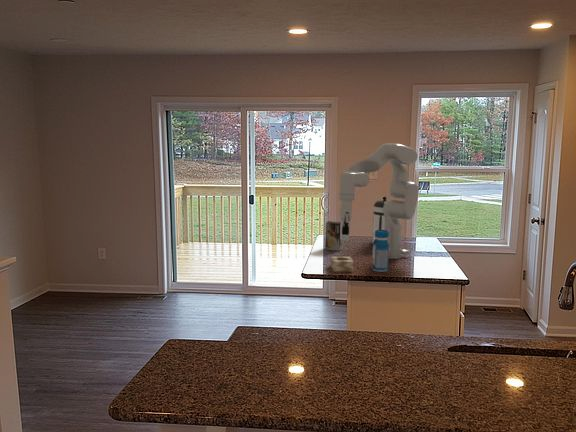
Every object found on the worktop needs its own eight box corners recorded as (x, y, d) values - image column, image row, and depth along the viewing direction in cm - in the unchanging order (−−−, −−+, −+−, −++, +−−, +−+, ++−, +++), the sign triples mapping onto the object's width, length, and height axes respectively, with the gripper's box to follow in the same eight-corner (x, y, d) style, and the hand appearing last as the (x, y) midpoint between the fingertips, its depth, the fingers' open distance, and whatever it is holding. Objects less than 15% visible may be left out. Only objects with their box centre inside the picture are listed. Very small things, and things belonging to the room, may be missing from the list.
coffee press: (398, 244, 314) (401, 196, 309) (389, 248, 301) (392, 198, 296) (372, 240, 323) (375, 194, 318) (362, 245, 310) (364, 196, 305)
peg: (340, 238, 255) (341, 215, 254) (348, 239, 255) (349, 215, 254) (341, 240, 251) (342, 216, 250) (349, 240, 251) (350, 216, 250)
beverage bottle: (380, 273, 248) (382, 233, 245) (367, 269, 255) (369, 230, 252) (392, 270, 253) (394, 231, 250) (379, 266, 260) (381, 228, 257)
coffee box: (342, 248, 299) (343, 222, 296) (339, 251, 293) (340, 223, 290) (328, 247, 302) (328, 220, 300) (324, 249, 296) (325, 222, 294)
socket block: (349, 266, 260) (350, 256, 260) (353, 271, 251) (353, 261, 250) (330, 266, 260) (330, 256, 259) (333, 271, 250) (333, 261, 249)
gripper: (337, 195, 258) (335, 230, 261) (341, 199, 242) (339, 236, 245) (351, 195, 259) (350, 230, 261) (356, 199, 242) (354, 237, 245)
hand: (344, 233), depth 253 cm, fingers closed on peg, 4 cm apart
